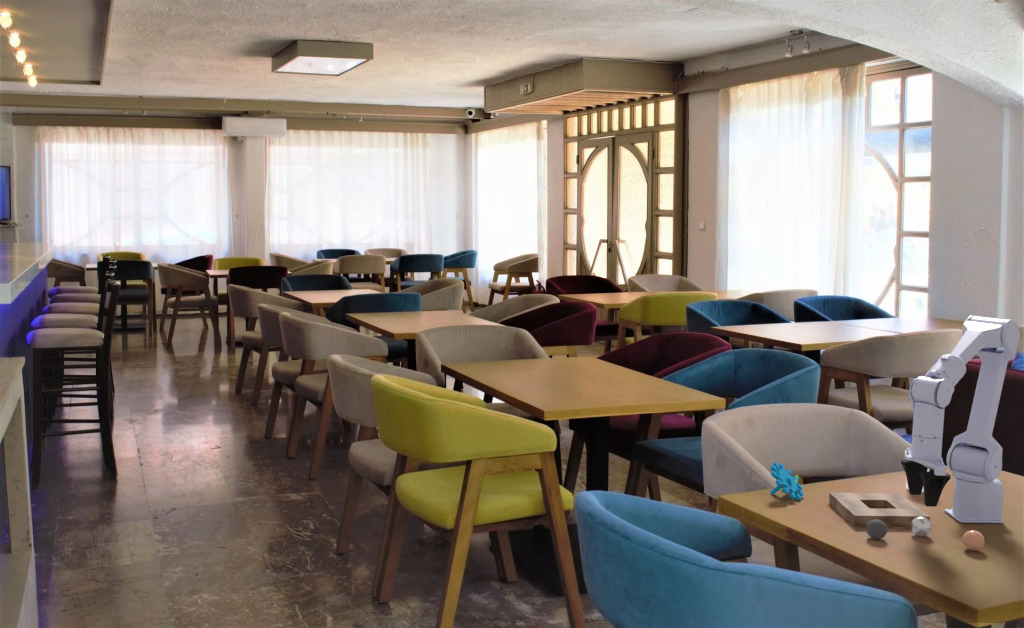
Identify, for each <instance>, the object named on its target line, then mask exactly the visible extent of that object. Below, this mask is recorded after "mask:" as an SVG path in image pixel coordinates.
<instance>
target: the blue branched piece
mask: <svg viewBox="0 0 1024 628" xmlns="http://www.w3.org/2000/svg"><path fill="white" fill-rule="evenodd" d="M785 468H786V467H785V465H784V464H783V463H778V462H773V463H772V465H771V466H770V467H769V469H770V470H771V472H770V475H771V478H774V479H775V481H774V482H775V485H776V486H775V487H773V489H771V490H770V492H769V493H770V494H771V495H775V494H776V493H778V492H779V491H780V490H781V491H782V492H783V494H784V495H787V494H788V493H789V495H788V496H789V497H790V499H792V500H797V501H801V500H802V499H803V496H804V495H805V492H803V490H804V489H803V485H801V484H800V483H799V479H800V477H799V475H798V474H795V475H794V476H792V474H793V472H792V470H791V469H790V468H787V469H786V470H785Z"/></svg>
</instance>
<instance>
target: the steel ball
mask: <svg viewBox="0 0 1024 628" xmlns="http://www.w3.org/2000/svg"><path fill="white" fill-rule="evenodd" d="M932 528H933V527H932V522H931V520H930V521H929V520H928V519H927V518H925V517H916V518H914V519H913V520H912V522H911V528H910V529H911V531H912V532H913V534H914V535H916V536H918V537H926V536H928V535H929V534H931V532H932Z"/></svg>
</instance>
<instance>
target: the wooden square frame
mask: <svg viewBox="0 0 1024 628" xmlns="http://www.w3.org/2000/svg"><path fill="white" fill-rule="evenodd" d="M828 504H829V505H830V504H831V505H832V506H833V507H834V508H835V509H836V510H837V511H836V510H835V509H834V508H833V507H832V506H831V505H830V506H831V507H832V508H833V509H834V510H835V511H836V512H837V513H838V514H840V516H842V517H843V518H844V519H845V520H846V521H847V522H848V523H849V524H850V525H851V526H852V525H853V526H854V528H866V526H867V524H868V523H869V522H870V521H871V520H874V519H878V520H881V521H883V522H884V523H885V525H886V527H887V528H893V527H911V522H912V520H913V519H914V518H916V517H925V518H927V519H928V520H929V521H930V522H931V516H930V515H929V514H927V513H926V512H925V511H923V510H922V509H921V508H920V507H918V506H917V505H915V504H914V503H913V502H911V501H910V500H909V499H908V498H906V497H905V496H903V494H901V493H894V492H893V493H890V492H889V493H887V492H886V493H882V492H878V493H877V492H874V493H873V492H871V493H870V492H829V495H828ZM853 526H852V527H853Z"/></svg>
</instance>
